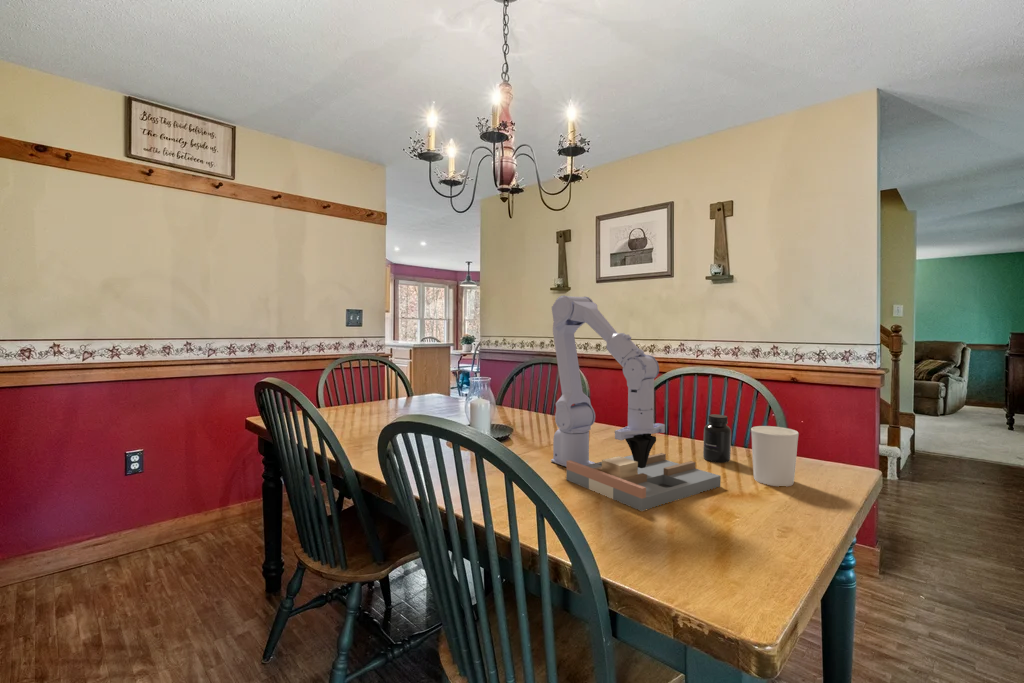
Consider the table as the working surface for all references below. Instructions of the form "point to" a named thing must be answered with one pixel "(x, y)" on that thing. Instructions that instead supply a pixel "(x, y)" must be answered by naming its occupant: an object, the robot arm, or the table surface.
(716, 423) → the supplement bottle
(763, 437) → the candle holder
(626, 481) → the board
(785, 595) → the table surface
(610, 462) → the maple block
